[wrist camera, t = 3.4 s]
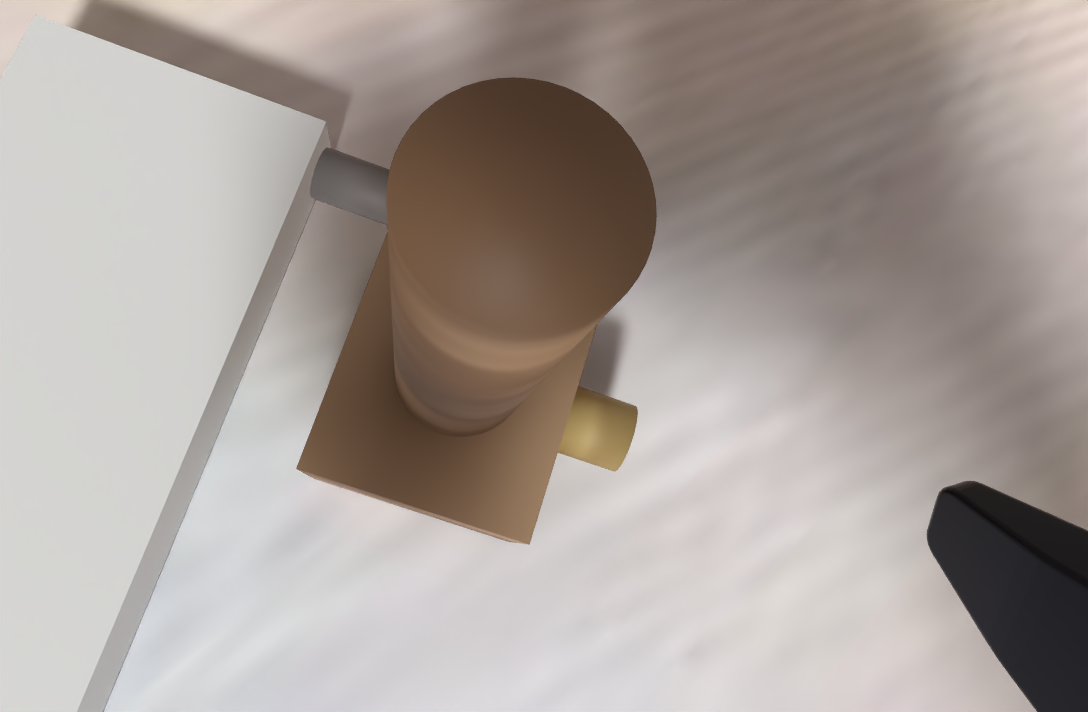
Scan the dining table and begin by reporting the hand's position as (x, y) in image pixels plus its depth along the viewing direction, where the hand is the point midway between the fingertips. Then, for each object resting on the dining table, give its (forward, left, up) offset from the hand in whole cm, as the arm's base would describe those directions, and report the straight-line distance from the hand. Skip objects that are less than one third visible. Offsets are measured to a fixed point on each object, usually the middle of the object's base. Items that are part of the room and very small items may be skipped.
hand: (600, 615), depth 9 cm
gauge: (+2, -4, -11) cm, 12 cm away
